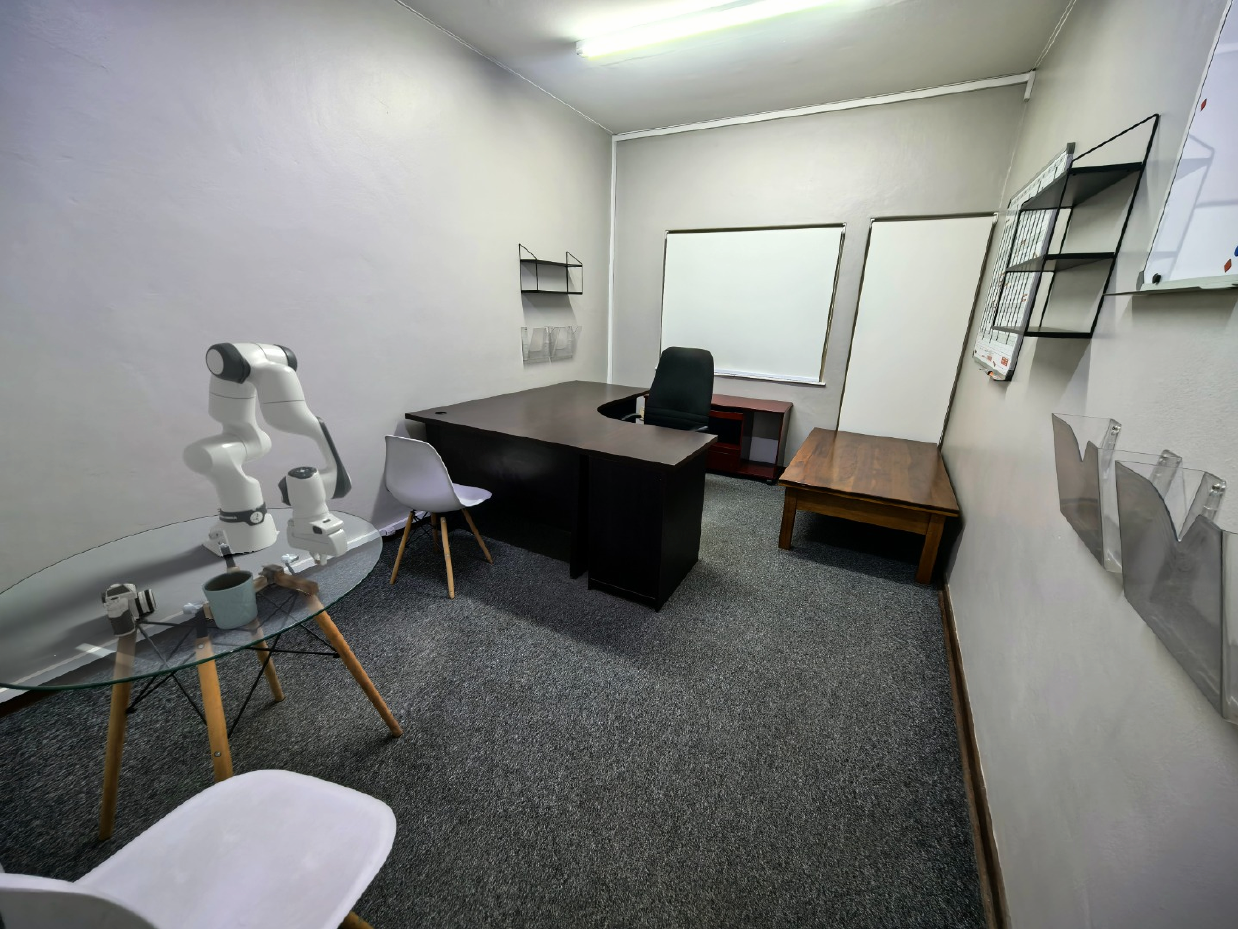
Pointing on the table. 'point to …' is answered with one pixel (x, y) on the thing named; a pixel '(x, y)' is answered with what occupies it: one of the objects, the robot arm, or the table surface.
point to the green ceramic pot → (231, 598)
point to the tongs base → (258, 585)
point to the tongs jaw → (292, 580)
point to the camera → (126, 606)
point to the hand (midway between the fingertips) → (321, 563)
